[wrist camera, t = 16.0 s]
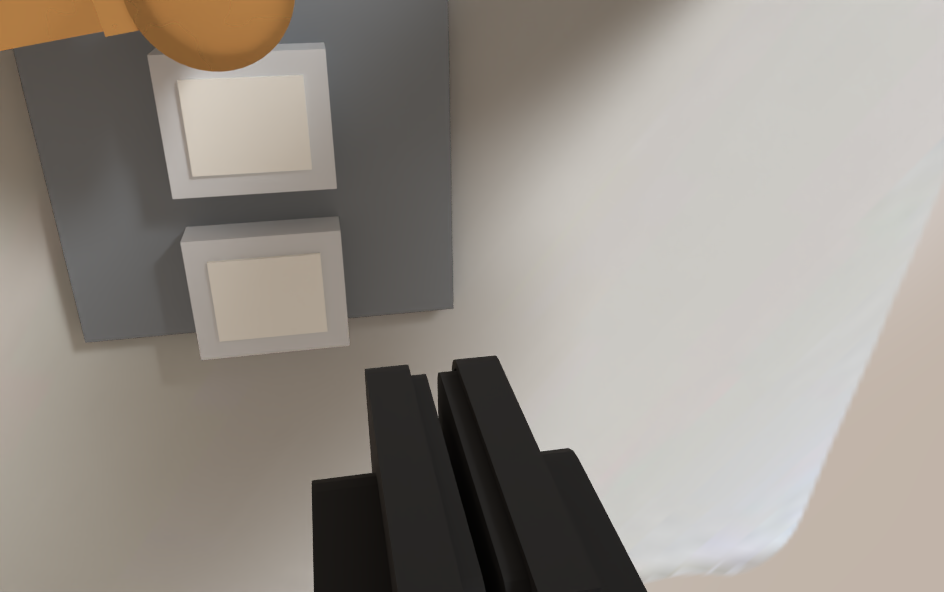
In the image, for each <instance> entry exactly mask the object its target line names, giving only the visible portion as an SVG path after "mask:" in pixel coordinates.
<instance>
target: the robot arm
mask: <svg viewBox="0 0 944 592" xmlns="http://www.w3.org/2000/svg"><path fill="white" fill-rule="evenodd" d="M365 382H366V396H367V409H368V422H369V436H370V449H371V463H372V473H368V474H360V475H352V476H345V477H337V478H329V479H321V480H313V481H312V520H313V567H314V592H647V590H646V588H645V587H644V585H643V583H642V581H641V579H640V577H639V575H638V573H637V571H636V569H635V567H634V565H633V563H632V561H631V559H630V558H629V556H628V554H627V552H626V550H625V548H624V546H623V544H622V542H621V540H620V538H619V536H618V534H617V532H616V530H615V529H614V527H613V525H612V523H611V521H610V519H609V517H608V515H607V513H606V511H605V509H604V507H603V505H602V503H601V501H600V500H599V498H598V496H597V494H596V492H595V490H594V488H593V486H592V484H591V482H590V480H589V478H588V476H587V474H586V473H585V471H584V469H583V467H582V465H581V463H580V461H579V459H578V457H577V456H576V454H575V453H574V451H573V450H571V449H569V448H566V449H558V450H550V451H542V452H540V450H539V448H538V445H537V443H536V441H535V439H534V437H533V434H532V432H531V430H530V428H529V426H528V423H527V421H526V419H525V417H524V414H523V412H522V410H521V408H520V406H519V403H518V401H517V399H516V397H515V395H514V392H513V390H512V388H511V386H510V384H509V381H508V379H507V377H506V375H505V373H504V370H503V368H502V366H501V364H500V361H499V359H498V358H497V356H486V357H476V358H466V359H457V360H453V364H452V371H450V372H440V373H438V415H437V412H436V408H435V404H434V401H433V397H432V394H431V390H430V386H429V383H428V379H427V376H426V374H421V375H412V376H411V374H410V370H409V366H408V365H399V366H389V367H380V368H370V369H365ZM438 418H439V419H438Z"/></svg>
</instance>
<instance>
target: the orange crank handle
mask: <svg viewBox="0 0 944 592" xmlns="http://www.w3.org/2000/svg"><path fill="white" fill-rule="evenodd" d="M294 4H295V0H0V51H3V50H8V49H13V48H18V47H24V46H29V45H34V44H40V43H45V42H50V41H55V40H61V39H66V38H71V37H77V36H82V35H87V34H93V33H98V32H103V31H104V34H105V37H107V36H113V35H118V34H123V33H129V32H134V31H138V30H139V31H140V32H141V33H142V35H143V36H144V37H145V38H146V39H147V40H148V41H149V42H150V43H151V44H152V45H153V46H154V47H155V48H157V49H158V50H159V51H160V52H162V53H163V54H164V55H166V56H167V57H169V58H171V59H173V60H174V61H176V62H178V63H180V64H183V65H185V66H188V67H191V68H195V69H198V70H204V71H211V72H224V71H232V70H237V69H240V68H244V67H246V66H249V65H251V64H254V63H255V62H257V61H259V60H260V59H262V58H263V57H265V56H266V55H267V54H268V53H270V52H271V51H272V50H273V49H274V47H275V46H276V45H277V44H278V43H279V42H280V40H281V39H282V37H283V36H284V34H285V32H286V30H287V28H288V26H289V23H290V20H291V18H292V14H293V9H294Z"/></svg>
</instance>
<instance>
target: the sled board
mask: <svg viewBox="0 0 944 592" xmlns="http://www.w3.org/2000/svg"><path fill="white" fill-rule="evenodd" d="M13 51H14V55H15V59H16V63H17V67H18V71H19V76H20V80H21V84H22V88H23V92H24V96H25V100H26V104H27V108H28V112H29V116H30V120H31V124H32V128H33V132H34V136H35V140H36V144H37V148H38V152H39V156H40V160H41V165H42V169H43V173H44V177H45V181H46V185H47V189H48V193H49V197H50V201H51V205H52V209H53V213H54V217H55V221H56V225H57V229H58V233H59V237H60V241H61V245H62V249H63V254H64V258H65V262H66V266H67V270H68V274H69V278H70V282H71V286H72V290H73V294H74V298H75V302H76V306H77V310H78V314H79V318H80V322H81V326H82V330H83V334H84V339H85V343H86V342H97V341H108V340H118V339H129V338H140V337H151V336H162V335H172V334H183V333H194V332H196V334H197V340H198V345H199V351H200V356H201V360H210V359H220V358H230V357H240V356H250V355H261V354H271V353H281V352H291V351H301V350H311V349H322V348H332V347H342V346H350V341H349V328H348V318H356V317H367V316H378V315H389V314H400V313H410V312H421V311H432V310H443V309H453V258H452V201H451V145H450V88H449V31H448V0H295V4H294V9H293V14H292V18H291V20H290V23H289V26H288V28H287V30H286V32H285V34H284V36H283V37H282V39H281V40H280V42H279V43H278V44H277V45H276V46H275V47H274V49H273V50H272V51H271V52H270V53H268V54H267V55H266V56H265V57H263V58H262V59H260V60H259V61H257V62H255V63H254V64H251V65H249V66H246V67H244V68H240V69H237V70H232V71H224V72H211V71H204V70H198V69H195V68H191V67H188V66H185V65H183V64H180V63H178V62H176V61H174V60H173V59H171V58H169V57H167V56H166V55H164V54H163V53H162V52H160V51H159V50H158V49H157V48H155V47H154V46H153V45H152V44H151V43H150V42H149V41H148V40H147V39H146V38H145V37H144V36H143V35H142V33H141V32H140V31H139V30H138V31H134V32H129V33H123V34H118V35H113V36H107V37H105V34H104V31H103V32H98V33H93V34H87V35H82V36H77V37H71V38H66V39H61V40H55V41H50V42H45V43H40V44H34V45H29V46H24V47H18V48H13Z"/></svg>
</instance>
